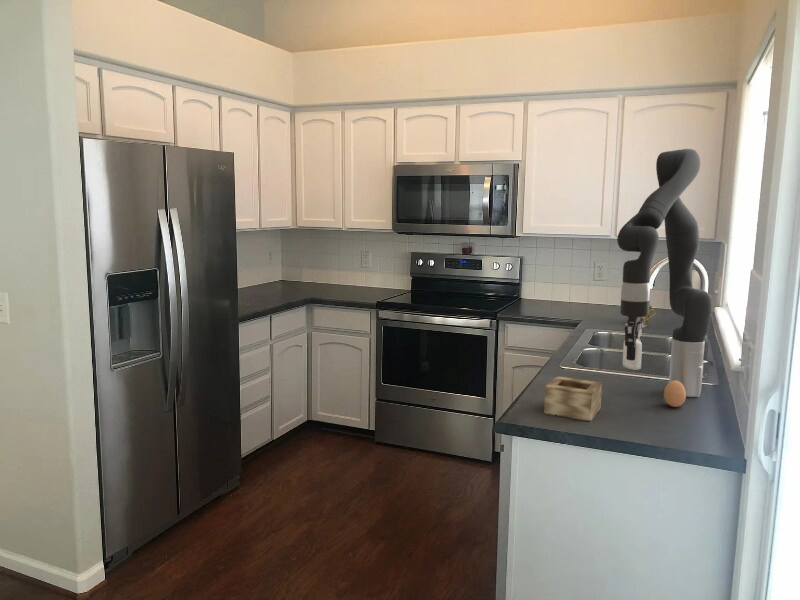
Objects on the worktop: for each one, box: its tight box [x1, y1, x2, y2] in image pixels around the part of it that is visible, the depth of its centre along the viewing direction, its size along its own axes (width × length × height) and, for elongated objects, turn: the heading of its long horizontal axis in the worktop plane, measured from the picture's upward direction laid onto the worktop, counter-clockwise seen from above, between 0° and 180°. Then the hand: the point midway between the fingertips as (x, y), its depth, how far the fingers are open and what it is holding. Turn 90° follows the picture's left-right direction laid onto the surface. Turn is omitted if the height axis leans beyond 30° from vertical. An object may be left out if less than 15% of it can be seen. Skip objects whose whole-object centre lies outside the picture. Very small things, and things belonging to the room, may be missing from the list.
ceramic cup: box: [640, 304, 657, 328], centre depth 307 cm, size 13×10×10 cm
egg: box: [663, 380, 687, 408], centre depth 190 cm, size 6×6×8 cm
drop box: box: [543, 375, 603, 423], centre depth 185 cm, size 13×12×8 cm
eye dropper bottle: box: [622, 335, 643, 371], centre depth 182 cm, size 4×6×12 cm
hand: (632, 357), depth 183 cm, fingers closed on eye dropper bottle, 5 cm apart
